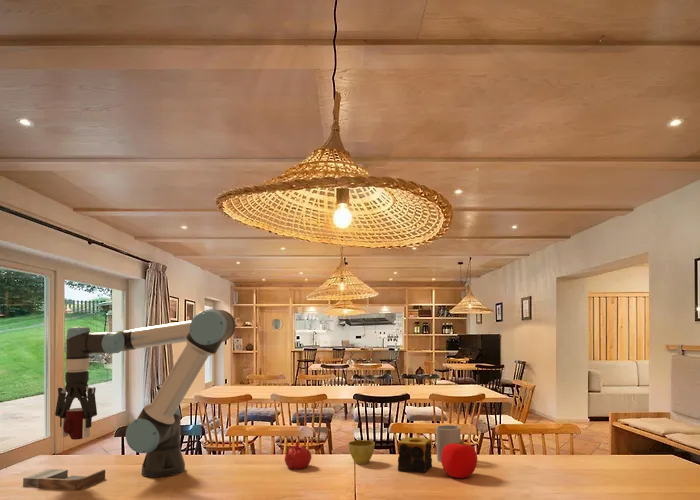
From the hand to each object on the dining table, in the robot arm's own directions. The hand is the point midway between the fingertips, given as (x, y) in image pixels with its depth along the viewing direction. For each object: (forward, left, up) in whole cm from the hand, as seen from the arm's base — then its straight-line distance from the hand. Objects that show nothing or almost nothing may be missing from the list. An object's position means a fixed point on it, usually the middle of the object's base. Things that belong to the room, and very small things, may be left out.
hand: (75, 436), depth 207 cm
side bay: (+3, +1, -15) cm, 16 cm away
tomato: (-130, -28, -15) cm, 134 cm away
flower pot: (-93, -41, -15) cm, 103 cm away
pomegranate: (-71, -31, -16) cm, 79 cm away
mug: (0, 0, -1) cm, 1 cm away
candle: (-114, -35, -16) cm, 120 cm away
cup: (-125, -50, -15) cm, 136 cm away
